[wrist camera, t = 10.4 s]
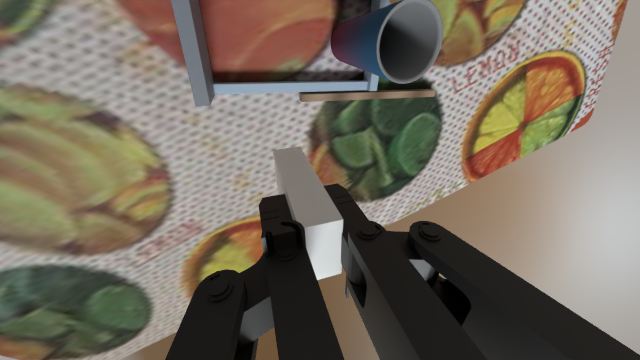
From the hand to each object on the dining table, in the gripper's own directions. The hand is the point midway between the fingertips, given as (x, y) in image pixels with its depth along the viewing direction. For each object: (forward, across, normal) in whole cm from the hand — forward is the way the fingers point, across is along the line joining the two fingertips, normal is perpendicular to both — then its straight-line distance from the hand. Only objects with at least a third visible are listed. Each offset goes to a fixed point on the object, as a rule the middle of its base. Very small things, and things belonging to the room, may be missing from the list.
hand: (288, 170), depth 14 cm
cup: (+24, +13, +6) cm, 28 cm away
